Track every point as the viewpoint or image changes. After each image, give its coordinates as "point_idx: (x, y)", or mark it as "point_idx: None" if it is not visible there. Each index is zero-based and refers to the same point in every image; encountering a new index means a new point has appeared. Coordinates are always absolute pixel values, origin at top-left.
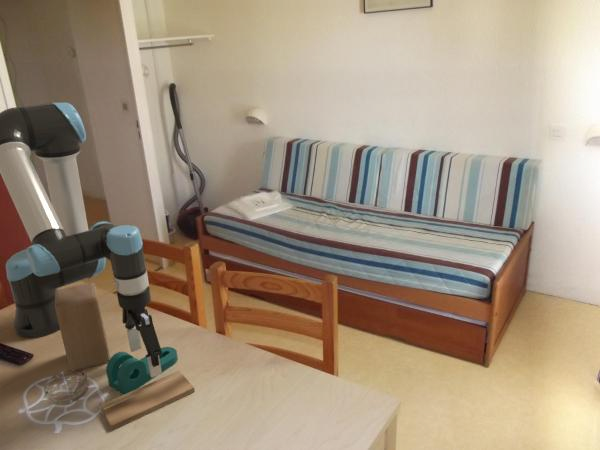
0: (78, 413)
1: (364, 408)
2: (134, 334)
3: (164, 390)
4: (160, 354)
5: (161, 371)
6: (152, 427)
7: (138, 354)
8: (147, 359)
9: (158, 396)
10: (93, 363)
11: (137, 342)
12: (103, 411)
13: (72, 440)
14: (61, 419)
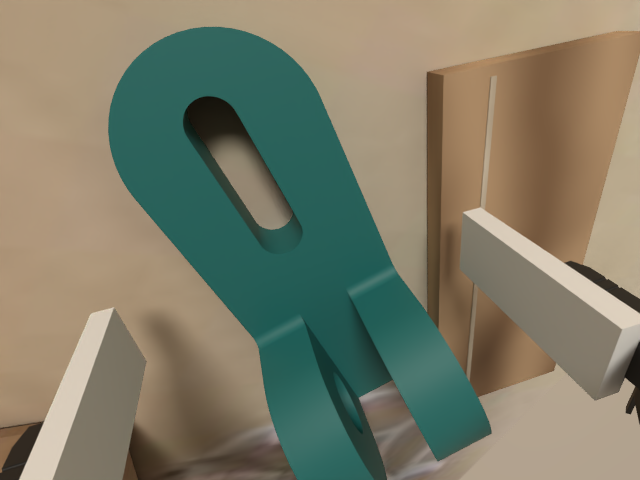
0: (402, 441)
1: None
2: (91, 471)
3: (538, 195)
4: (212, 171)
5: (488, 214)
6: (629, 252)
7: (76, 282)
8: (556, 359)
9: (551, 226)
10: (133, 472)
11: (110, 373)
12: None
13: (496, 432)
14: (398, 469)
